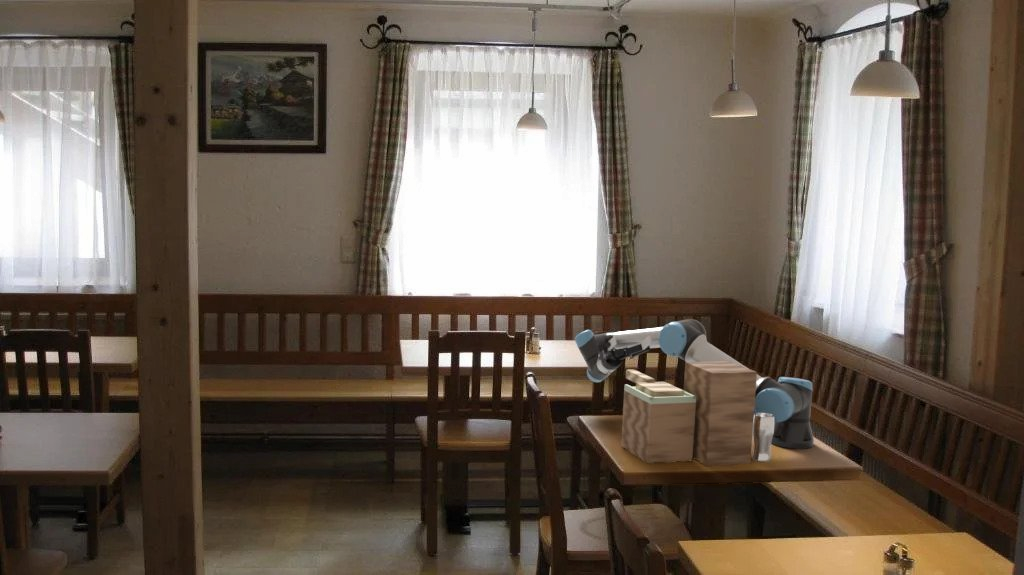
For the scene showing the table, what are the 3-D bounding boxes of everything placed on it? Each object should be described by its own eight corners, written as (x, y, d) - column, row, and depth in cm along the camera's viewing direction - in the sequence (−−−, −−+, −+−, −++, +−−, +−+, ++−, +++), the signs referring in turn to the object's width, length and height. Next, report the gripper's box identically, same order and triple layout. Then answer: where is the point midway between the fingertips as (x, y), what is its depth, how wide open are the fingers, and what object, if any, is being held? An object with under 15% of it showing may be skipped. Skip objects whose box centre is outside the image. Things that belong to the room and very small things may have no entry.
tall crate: (679, 450, 341) (685, 362, 337) (722, 448, 346) (727, 361, 342) (706, 465, 324) (712, 373, 320) (750, 463, 329) (756, 372, 325)
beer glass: (772, 463, 330) (775, 418, 328) (750, 461, 331) (753, 416, 329) (771, 457, 336) (774, 413, 335) (750, 455, 338) (753, 411, 336)
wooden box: (621, 446, 342) (624, 390, 340) (663, 444, 347) (667, 388, 345) (647, 463, 323) (650, 404, 321) (692, 460, 328) (695, 402, 326)
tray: (624, 390, 340) (624, 384, 340) (667, 388, 345) (667, 383, 345) (650, 404, 321) (651, 397, 321) (695, 402, 326) (696, 396, 326)
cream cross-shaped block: (615, 378, 353) (616, 369, 353) (643, 377, 356) (643, 369, 356) (654, 397, 325) (654, 388, 324) (683, 396, 328) (684, 387, 328)
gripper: (642, 368, 380) (666, 348, 362) (580, 371, 372) (602, 351, 354) (638, 350, 383) (662, 329, 364) (577, 352, 375) (598, 330, 356)
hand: (632, 339), depth 359 cm, fingers open, 13 cm apart
